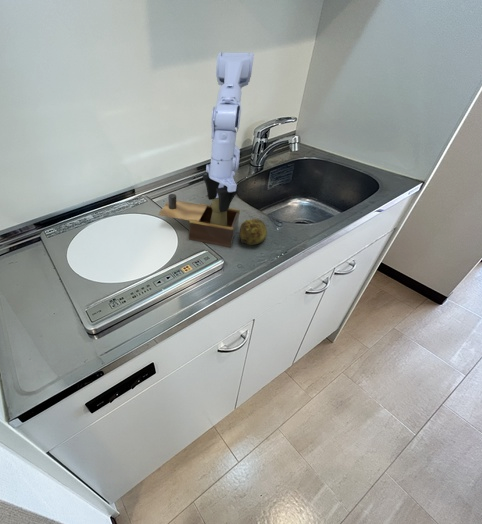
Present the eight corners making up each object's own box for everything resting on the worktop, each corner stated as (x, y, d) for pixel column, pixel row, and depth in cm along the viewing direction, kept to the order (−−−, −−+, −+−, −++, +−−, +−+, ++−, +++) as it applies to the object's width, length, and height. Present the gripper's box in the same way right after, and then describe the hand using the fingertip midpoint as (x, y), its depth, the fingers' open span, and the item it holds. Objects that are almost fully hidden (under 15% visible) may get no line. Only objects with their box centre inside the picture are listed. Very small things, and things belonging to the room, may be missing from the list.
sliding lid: (169, 201, 91) (169, 187, 88) (207, 207, 87) (208, 193, 84) (158, 215, 84) (157, 201, 81) (198, 222, 81) (199, 208, 78)
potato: (276, 238, 84) (283, 215, 79) (251, 256, 78) (256, 232, 73) (253, 227, 89) (258, 205, 84) (227, 243, 83) (230, 220, 77)
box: (199, 221, 93) (200, 203, 88) (237, 227, 89) (240, 209, 85) (189, 239, 84) (189, 221, 80) (230, 247, 81) (233, 228, 77)
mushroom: (209, 225, 89) (212, 193, 82) (228, 228, 87) (233, 196, 80) (205, 235, 84) (208, 203, 77) (225, 239, 83) (230, 205, 76)
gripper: (250, 165, 67) (242, 214, 76) (223, 146, 78) (219, 192, 87) (223, 168, 66) (218, 219, 74) (200, 149, 76) (198, 195, 85)
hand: (217, 204), depth 80 cm, fingers open, 7 cm apart
